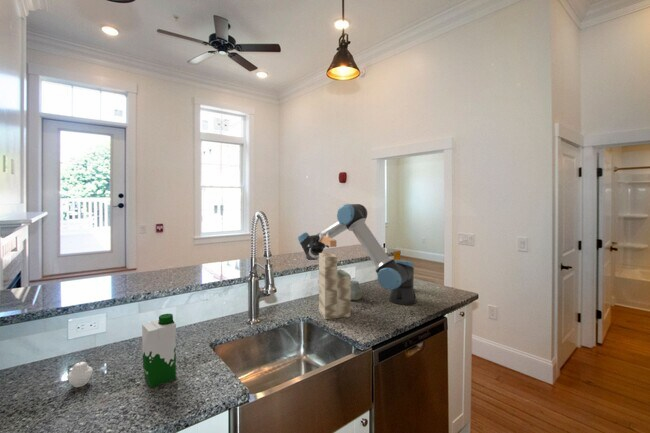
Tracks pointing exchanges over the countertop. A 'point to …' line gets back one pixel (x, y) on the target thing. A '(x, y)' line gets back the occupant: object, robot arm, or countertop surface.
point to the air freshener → (355, 291)
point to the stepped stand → (333, 288)
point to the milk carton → (159, 350)
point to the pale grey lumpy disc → (80, 374)
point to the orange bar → (328, 241)
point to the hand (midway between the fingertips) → (324, 234)
